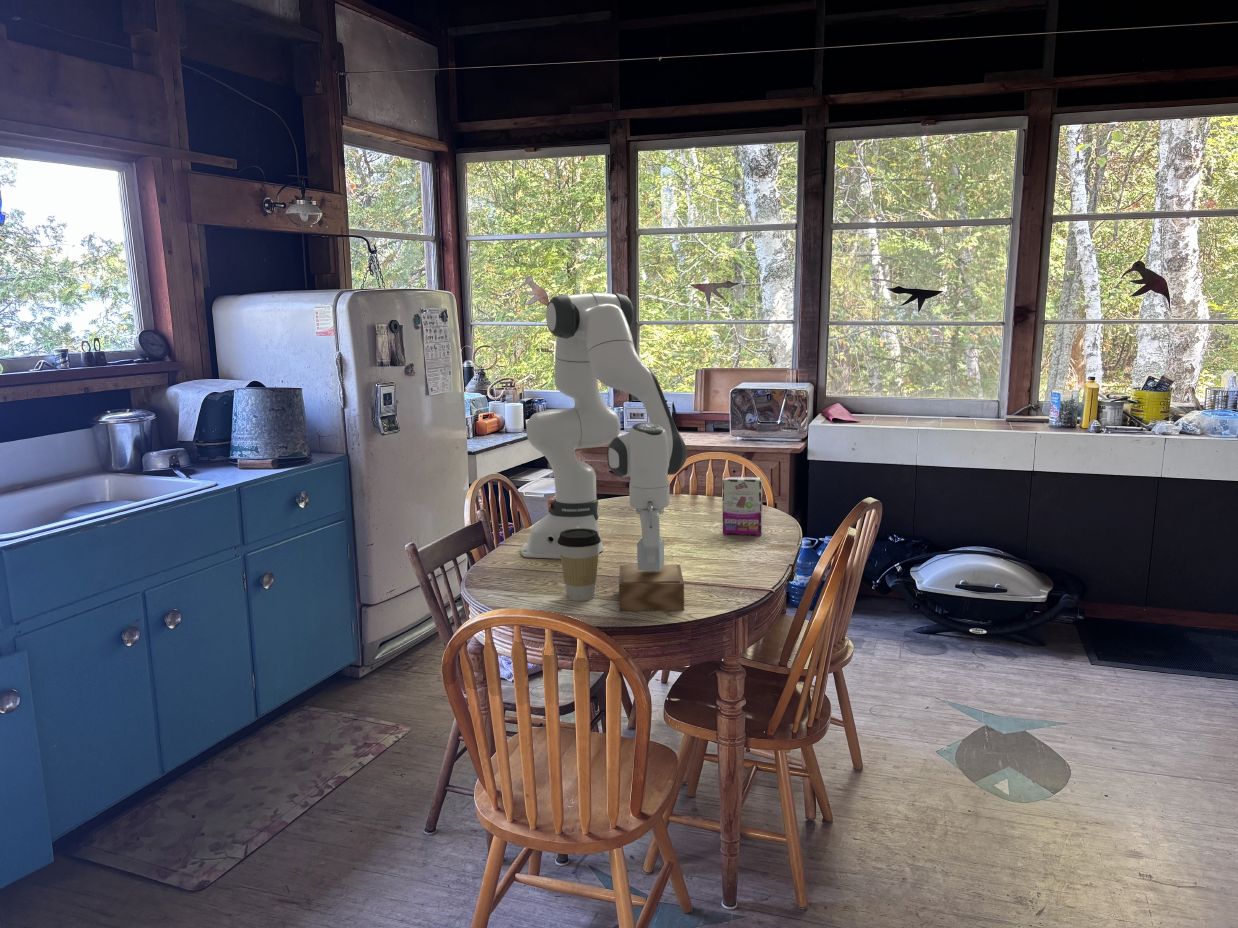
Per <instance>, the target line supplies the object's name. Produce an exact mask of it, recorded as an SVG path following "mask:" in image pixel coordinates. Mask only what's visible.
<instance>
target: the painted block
mask: <svg viewBox="0 0 1238 928" xmlns="http://www.w3.org/2000/svg"><path fill="white" fill-rule="evenodd" d="M636 551H637V552H636V555H637V556H636V557H637V558H636V560H637V564H636V565H637V567H638V570H649V571H660V570H661V568H662V567H663V566H664V565H665V539H664V538H660V547H659V548H658V549H656V551H655V563H647V553H646V549H644V548H643V544H642V538H641V539H640V540H639V541H638V542H637V543H636Z"/></svg>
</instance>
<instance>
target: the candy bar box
mask: <svg viewBox="0 0 1238 928" xmlns="http://www.w3.org/2000/svg"><path fill="white" fill-rule="evenodd" d="M721 487H722V489H721V490H722V535H727V536H729V535H730V536H754V537H756V536H757V537H759V536H762V533H763V477H762V476H761V477H759V476H757V477H756V476H724V477H723V479H722V486H721Z"/></svg>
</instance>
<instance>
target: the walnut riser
mask: <svg viewBox="0 0 1238 928" xmlns="http://www.w3.org/2000/svg"><path fill="white" fill-rule="evenodd" d="M682 572H683V571H682V568H681V564H676V563H675V564H664V566H663V567H662V568H661V570H660V571H649V570H638V567H637V564H627V565H626V564H622V565H619V573H618V574H619V576H618V596H619V601H618V602H619V612H634V611H635V612H643V611H644V612H645V611H646V612H647V611H650V612H651V611H652V612H653V611H684V610H685V583H684V577H683V573H682Z"/></svg>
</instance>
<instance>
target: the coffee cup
mask: <svg viewBox="0 0 1238 928" xmlns="http://www.w3.org/2000/svg"><path fill="white" fill-rule="evenodd" d="M600 537H601V536H600ZM600 537H599V536H598V532H597V531H595V530H592V529H584V528H578V529H569V530H565V531H562V532H561V533H560V537H559V538H558V541H557V542H558V544H560V551H561V554H560V556H561V559H560V562H561V569H562V574H563V575H562V576H563V582H564V585H565V591H566V592H565V593H566V598H567V599H568V600H570V601H573V602H574V601H575V602H586V601H590V600H593V599H594V598H595V591H596V582H597V576H598V575H597V573H598V566H599V564H598V563H599V554H600V552H599V553H598V548H599V543H600V542H601V541H602V539H600Z"/></svg>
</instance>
